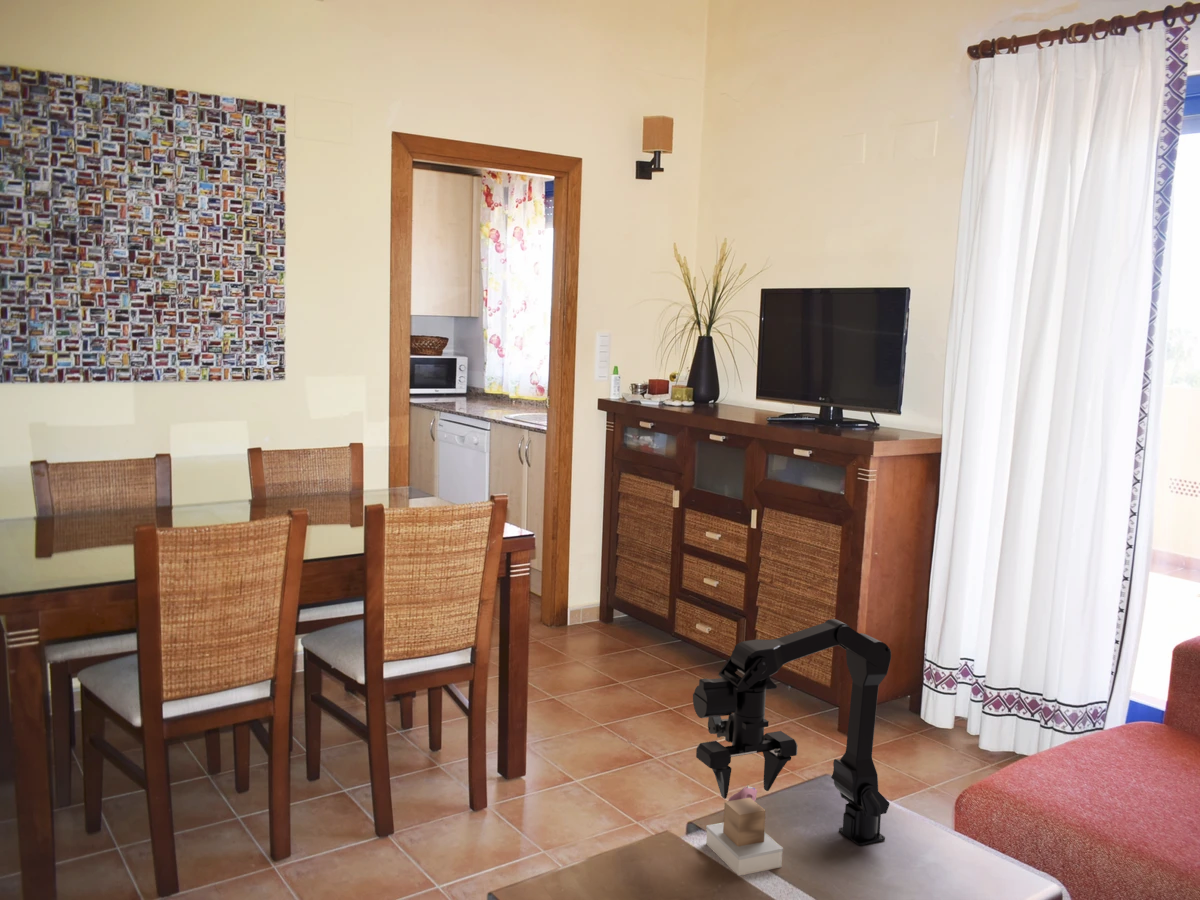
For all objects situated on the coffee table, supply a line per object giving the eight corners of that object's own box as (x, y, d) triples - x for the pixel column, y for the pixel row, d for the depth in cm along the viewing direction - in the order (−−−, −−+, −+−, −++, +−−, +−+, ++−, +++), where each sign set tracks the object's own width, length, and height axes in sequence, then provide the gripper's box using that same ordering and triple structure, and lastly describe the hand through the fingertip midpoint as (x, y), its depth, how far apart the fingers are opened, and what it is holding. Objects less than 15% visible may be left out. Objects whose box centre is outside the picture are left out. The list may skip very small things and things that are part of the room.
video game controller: (743, 836, 189) (761, 807, 188) (723, 824, 189) (741, 795, 188) (745, 813, 198) (762, 786, 197) (726, 801, 199) (743, 774, 198)
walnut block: (748, 828, 182) (750, 797, 181) (764, 841, 176) (765, 810, 176) (723, 832, 180) (724, 801, 179) (737, 846, 174) (739, 814, 174)
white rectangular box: (747, 837, 186) (748, 818, 186) (782, 869, 175) (783, 848, 174) (705, 845, 182) (706, 825, 182) (738, 878, 171) (739, 856, 171)
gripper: (767, 692, 187) (763, 769, 188) (683, 703, 179) (680, 783, 181) (801, 711, 177) (796, 793, 178) (713, 724, 169) (710, 809, 171)
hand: (745, 793), depth 177 cm, fingers open, 9 cm apart
